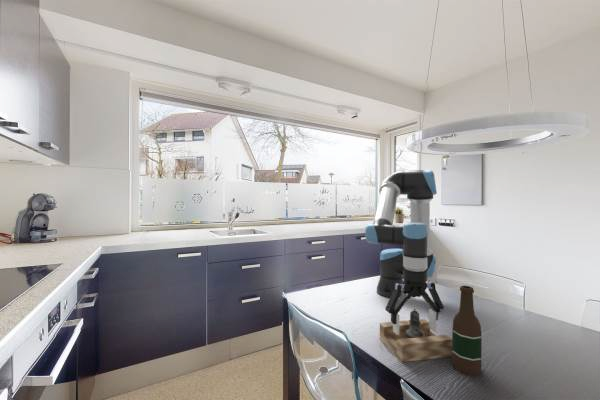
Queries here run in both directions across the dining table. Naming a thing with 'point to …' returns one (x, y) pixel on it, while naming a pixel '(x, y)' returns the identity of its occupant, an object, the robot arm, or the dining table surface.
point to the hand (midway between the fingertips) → (414, 331)
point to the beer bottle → (466, 336)
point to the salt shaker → (414, 326)
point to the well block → (415, 342)
